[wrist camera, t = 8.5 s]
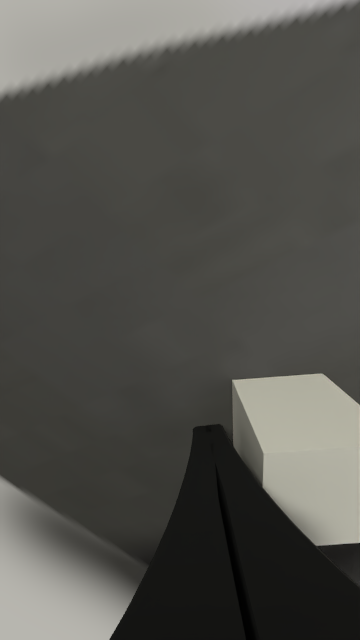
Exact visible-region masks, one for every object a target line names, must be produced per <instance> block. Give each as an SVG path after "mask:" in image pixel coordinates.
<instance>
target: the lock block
mask: <svg viewBox="0 0 360 640" xmlns="http://www.w3.org/2000/svg"><path fill="white" fill-rule="evenodd" d="M232 396H233V446H234V448H235V449H236V451H237V453H238V454H239V456H240V457H241V459H242V460H243V461H244V463H245V464H246V466H247V467H248V468H249V470H250V471H251V473H252V474H253V475H254V477H255V478H256V479H257V481H258V482H259V483H260V484H261V486H262V487H263V488H264V489H265V491H266V492H267V493H268V494H269V496H270V497H271V498H272V499H273V500H274V502H275V503H276V504H277V505H278V506H279V507H280V508H281V510H282V511H283V512H284V513H285V514H286V515H287V516H288V517H289V518H290V520H291V521H292V522H293V523H294V524H295V525H296V526H297V527H298V528H299V529H300V530H301V531H302V532H303V533H304V534H305V535H306V536H307V537H308V538H309V539H310V540H311V541H312V542H313V543H314V544H315V545H316V546H320V545H334V544H349V543H360V405H359V404H358V403H356V402H355V401H354V400H353V399H352V398H351V397H349V396H348V395H347V394H346V393H345V392H344V391H342V390H341V389H340V388H339V387H338V386H336V385H335V384H334V383H333V382H332V381H331V380H329V379H328V378H327V377H326V376H325V375H324V374H309V375H295V376H282V377H268V378H255V379H241V380H232Z"/></svg>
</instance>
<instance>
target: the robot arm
mask: <svg viewBox="0 0 360 640" xmlns="http://www.w3.org/2000/svg"><path fill="white" fill-rule="evenodd" d="M110 640H360V587H359V586H358V585H357V584H356V583H355V582H354V581H353V580H352V579H350V578H349V577H348V576H347V575H346V574H345V573H344V572H343V571H342V570H341V569H339V568H338V567H337V566H336V565H335V564H334V563H333V562H332V561H331V560H330V559H329V558H328V557H327V556H326V555H325V554H324V553H323V552H322V551H321V550H320V549H319V548H318V547H317V546H316V545H315V544H314V543H313V542H312V541H311V540H310V539H309V538H308V537H307V536H306V535H305V534H304V533H303V532H302V531H301V530H300V529H299V528H298V527H297V526H296V525H295V524H294V523H293V522H292V521H291V520H290V518H289V517H288V516H287V515H286V514H285V513H284V512H283V511H282V510H281V508H280V507H279V506H278V505H277V504H276V503H275V502H274V500H273V499H272V498H271V497H270V496H269V494H268V493H267V492H266V491H265V489H264V488H263V487H262V486H261V484H260V483H259V482H258V481H257V479H256V478H255V477H254V475H253V474H252V473H251V471H250V470H249V468H248V467H247V466H246V464H245V463H244V461H243V460H242V459H241V457H240V456H239V454H238V453H237V451H236V449H235V448H234V446H233V445H232V443H231V441H230V440H229V438H228V436H227V434H226V432H225V430H224V428H223V426H221V425H220V424H218V425H208V426H198V427H195V428H194V429H193V440H192V447H191V452H190V457H189V461H188V465H187V469H186V473H185V477H184V480H183V483H182V486H181V489H180V493H179V496H178V499H177V501H176V504H175V507H174V510H173V512H172V515H171V518H170V520H169V523H168V525H167V528H166V530H165V532H164V535H163V537H162V539H161V541H160V544H159V546H158V548H157V551H156V553H155V555H154V557H153V559H152V561H151V563H150V565H149V567H148V569H147V571H146V573H145V575H144V577H143V579H142V581H141V583H140V585H139V587H138V589H137V591H136V593H135V595H134V597H133V599H132V601H131V603H130V605H129V606H128V608H127V610H126V612H125V614H124V615H123V617H122V619H121V621H120V623H119V624H118V626H117V627H116V630H115V631H114V633H113V634H112V636H111V638H110Z"/></svg>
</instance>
